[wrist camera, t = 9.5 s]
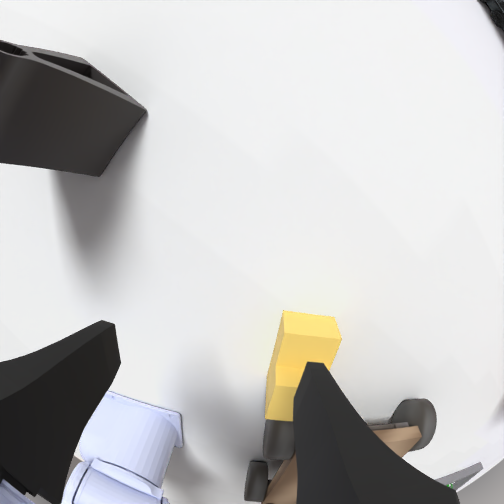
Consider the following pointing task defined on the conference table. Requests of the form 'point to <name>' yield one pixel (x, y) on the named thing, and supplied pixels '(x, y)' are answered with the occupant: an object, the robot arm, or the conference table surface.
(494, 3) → the toy train
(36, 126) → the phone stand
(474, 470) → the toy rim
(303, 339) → the yellow step block
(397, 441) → the trolley
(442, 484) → the robot arm
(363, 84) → the conference table surface
